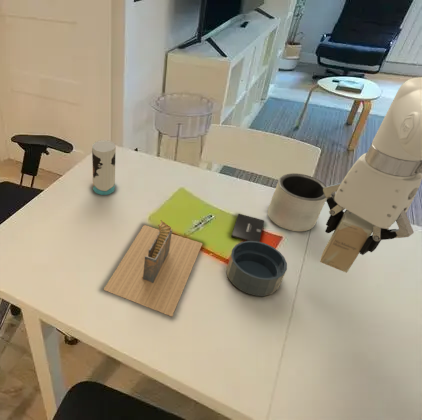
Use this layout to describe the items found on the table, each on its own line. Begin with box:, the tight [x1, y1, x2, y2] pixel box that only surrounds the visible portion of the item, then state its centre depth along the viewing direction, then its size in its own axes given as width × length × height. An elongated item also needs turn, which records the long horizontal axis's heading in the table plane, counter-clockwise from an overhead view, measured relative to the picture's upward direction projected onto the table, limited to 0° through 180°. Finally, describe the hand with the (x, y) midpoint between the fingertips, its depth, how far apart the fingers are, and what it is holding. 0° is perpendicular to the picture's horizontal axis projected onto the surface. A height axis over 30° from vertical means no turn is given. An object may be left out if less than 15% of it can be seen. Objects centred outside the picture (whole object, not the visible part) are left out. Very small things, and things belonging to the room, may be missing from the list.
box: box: [319, 209, 373, 273], centre depth 71 cm, size 5×4×11 cm
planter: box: [267, 172, 328, 232], centre depth 101 cm, size 12×13×11 cm
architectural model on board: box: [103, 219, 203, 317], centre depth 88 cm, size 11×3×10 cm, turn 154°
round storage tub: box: [225, 240, 288, 297], centre depth 86 cm, size 12×12×6 cm
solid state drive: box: [231, 213, 265, 242], centre depth 101 cm, size 7×10×1 cm
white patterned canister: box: [91, 139, 117, 196], centre depth 111 cm, size 7×7×15 cm
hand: (347, 239), depth 71 cm, fingers closed on box, 6 cm apart
